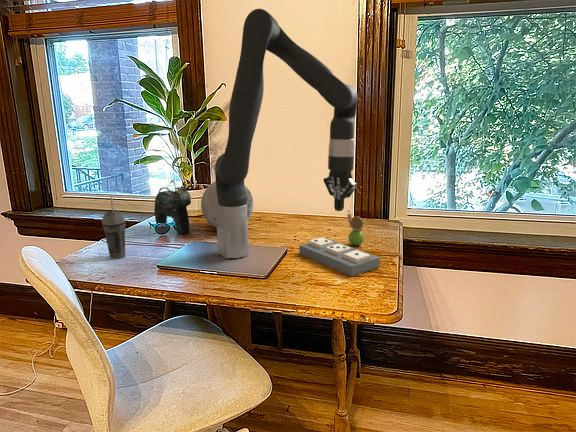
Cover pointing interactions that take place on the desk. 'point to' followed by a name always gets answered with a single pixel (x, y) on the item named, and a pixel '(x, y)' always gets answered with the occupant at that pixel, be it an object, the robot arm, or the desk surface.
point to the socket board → (339, 259)
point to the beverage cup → (114, 232)
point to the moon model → (211, 204)
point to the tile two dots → (320, 243)
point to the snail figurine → (355, 230)
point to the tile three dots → (338, 249)
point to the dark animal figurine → (173, 208)
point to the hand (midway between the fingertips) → (338, 210)
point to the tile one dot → (357, 256)
